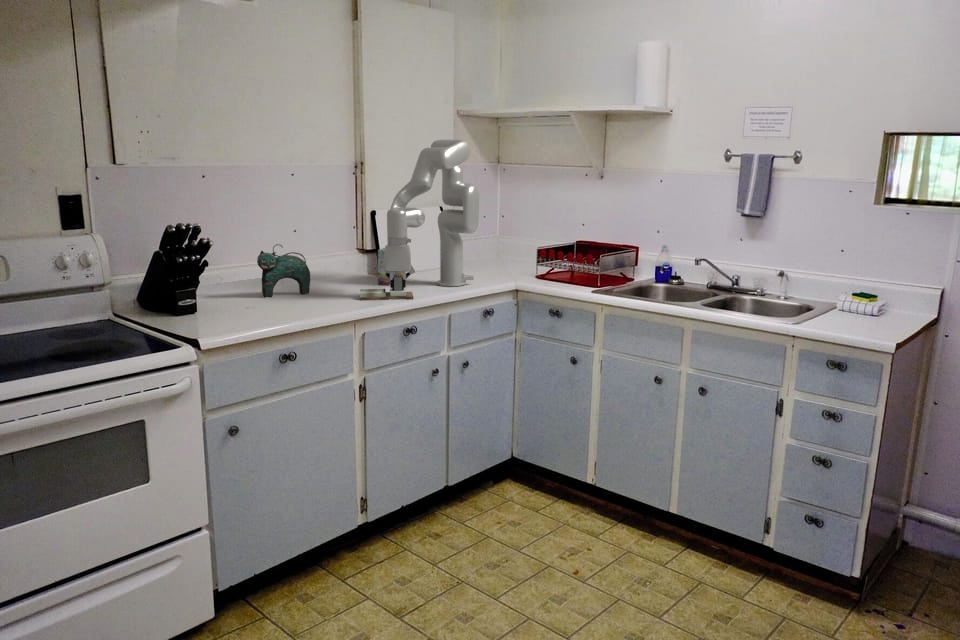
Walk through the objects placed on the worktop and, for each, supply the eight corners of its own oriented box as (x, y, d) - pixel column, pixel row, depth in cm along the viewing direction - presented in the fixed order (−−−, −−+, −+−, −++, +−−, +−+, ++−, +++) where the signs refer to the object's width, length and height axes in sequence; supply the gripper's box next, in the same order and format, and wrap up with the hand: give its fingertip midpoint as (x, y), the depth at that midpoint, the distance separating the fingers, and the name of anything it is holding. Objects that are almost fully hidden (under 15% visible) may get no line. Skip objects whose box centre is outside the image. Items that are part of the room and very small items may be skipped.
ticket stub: (405, 291, 285) (405, 275, 284) (406, 295, 277) (406, 278, 275) (389, 291, 285) (389, 275, 283) (390, 296, 276) (390, 279, 274)
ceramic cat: (261, 298, 275) (258, 246, 270) (256, 296, 280) (253, 244, 276) (312, 294, 285) (310, 243, 280) (307, 291, 290) (305, 241, 286)
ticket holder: (411, 294, 287) (411, 287, 286) (413, 299, 276) (413, 292, 276) (360, 295, 284) (360, 288, 284) (360, 300, 274) (359, 293, 273)
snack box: (390, 285, 306) (389, 250, 303) (377, 285, 307) (376, 249, 304) (405, 278, 326) (404, 244, 323) (393, 277, 327) (392, 244, 324)
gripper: (418, 240, 281) (418, 287, 285) (375, 241, 279) (376, 288, 283) (419, 243, 274) (419, 291, 278) (375, 243, 272) (376, 291, 276)
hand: (398, 289), depth 280 cm, fingers closed on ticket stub, 3 cm apart
